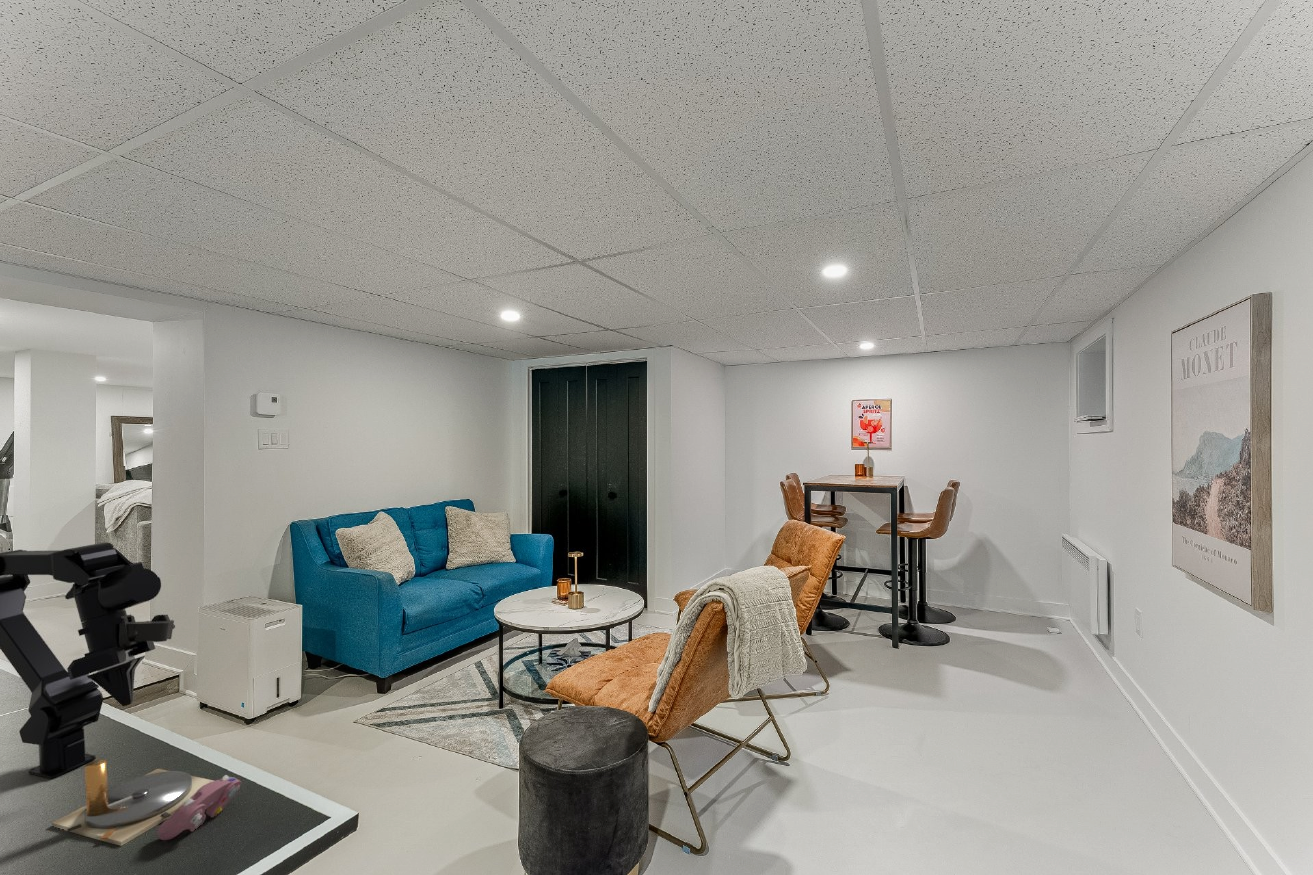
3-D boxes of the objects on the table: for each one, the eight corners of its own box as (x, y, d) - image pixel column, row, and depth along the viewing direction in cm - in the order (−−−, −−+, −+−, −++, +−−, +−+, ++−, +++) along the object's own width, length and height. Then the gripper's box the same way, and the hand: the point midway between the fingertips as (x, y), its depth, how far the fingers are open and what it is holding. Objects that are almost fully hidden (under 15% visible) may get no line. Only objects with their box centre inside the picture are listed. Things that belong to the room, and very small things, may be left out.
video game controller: (175, 856, 86) (191, 815, 85) (151, 838, 86) (167, 797, 86) (236, 811, 95) (251, 774, 95) (214, 796, 96) (229, 759, 95)
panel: (46, 829, 89) (45, 824, 89) (158, 772, 104) (158, 767, 104) (119, 850, 85) (118, 844, 85) (225, 786, 99) (225, 782, 99)
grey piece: (63, 819, 90) (60, 765, 90) (156, 771, 103) (154, 724, 102) (122, 835, 87) (119, 779, 86) (211, 783, 99) (209, 734, 99)
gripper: (143, 601, 99) (169, 694, 98) (176, 595, 115) (199, 675, 114) (54, 629, 93) (80, 727, 93) (102, 618, 110) (125, 701, 109)
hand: (128, 704), depth 102 cm, fingers closed
